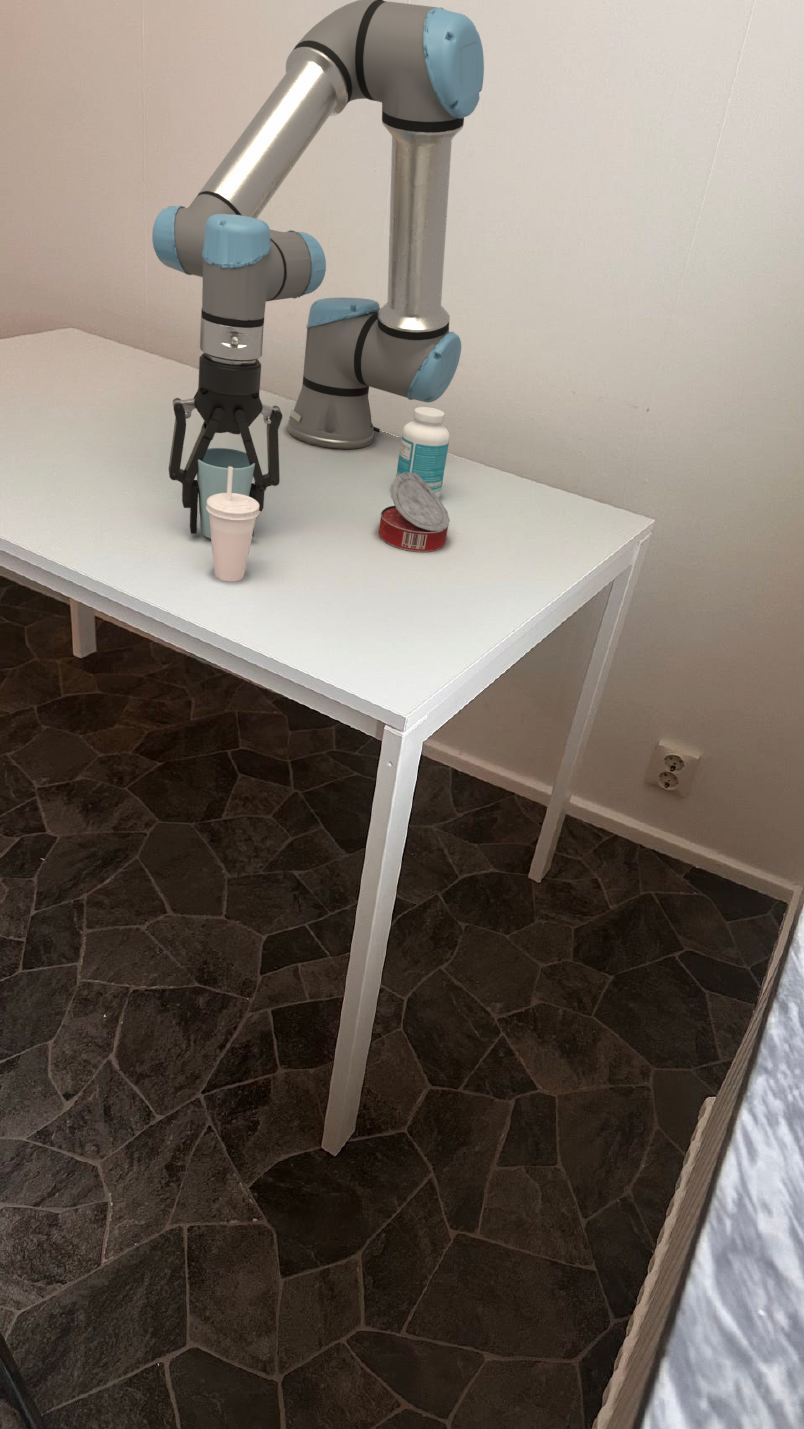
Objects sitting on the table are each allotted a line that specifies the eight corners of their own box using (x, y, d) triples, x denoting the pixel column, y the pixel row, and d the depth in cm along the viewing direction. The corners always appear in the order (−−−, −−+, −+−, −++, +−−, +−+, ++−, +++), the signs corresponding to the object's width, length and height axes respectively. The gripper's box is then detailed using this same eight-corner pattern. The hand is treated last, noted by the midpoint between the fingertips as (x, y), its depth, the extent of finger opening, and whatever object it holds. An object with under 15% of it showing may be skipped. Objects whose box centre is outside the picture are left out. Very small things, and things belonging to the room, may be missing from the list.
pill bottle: (446, 495, 160) (461, 412, 153) (428, 508, 154) (443, 422, 147) (405, 483, 162) (417, 400, 155) (385, 494, 156) (398, 409, 149)
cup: (257, 543, 132) (263, 468, 127) (201, 545, 129) (204, 468, 123) (241, 520, 138) (246, 447, 132) (187, 522, 135) (189, 447, 129)
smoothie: (205, 561, 127) (210, 455, 119) (255, 566, 128) (263, 461, 120) (201, 583, 121) (205, 474, 114) (253, 588, 122) (261, 480, 115)
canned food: (418, 554, 150) (456, 499, 147) (435, 577, 141) (475, 519, 139) (357, 517, 145) (395, 459, 142) (371, 538, 136) (411, 476, 134)
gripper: (148, 357, 115) (146, 539, 128) (315, 372, 121) (298, 545, 133) (146, 341, 121) (145, 516, 134) (305, 356, 127) (290, 523, 139)
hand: (221, 531), depth 133 cm, fingers closed on cup, 7 cm apart
